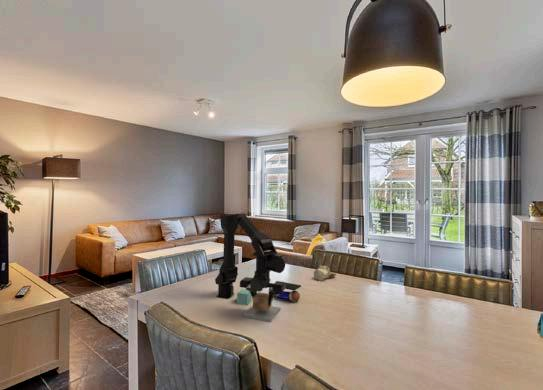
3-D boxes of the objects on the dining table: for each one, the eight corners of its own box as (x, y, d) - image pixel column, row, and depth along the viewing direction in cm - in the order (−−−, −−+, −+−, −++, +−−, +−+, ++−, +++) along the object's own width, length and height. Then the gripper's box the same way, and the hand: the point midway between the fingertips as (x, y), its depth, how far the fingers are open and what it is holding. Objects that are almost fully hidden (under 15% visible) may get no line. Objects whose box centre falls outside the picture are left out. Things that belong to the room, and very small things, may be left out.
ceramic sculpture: (309, 264, 165) (321, 261, 177) (308, 279, 165) (321, 275, 177) (325, 267, 159) (337, 264, 170) (325, 283, 158) (337, 278, 170)
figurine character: (268, 300, 137) (295, 304, 128) (267, 284, 137) (294, 287, 128) (276, 296, 142) (303, 300, 133) (275, 280, 143) (301, 283, 134)
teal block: (237, 303, 129) (237, 292, 129) (241, 299, 134) (241, 289, 134) (247, 305, 127) (247, 294, 127) (251, 301, 132) (251, 290, 132)
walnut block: (252, 309, 117) (252, 297, 117) (258, 303, 123) (258, 292, 123) (266, 311, 115) (266, 299, 115) (271, 305, 121) (271, 294, 120)
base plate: (243, 316, 115) (243, 314, 115) (254, 305, 127) (254, 303, 126) (271, 321, 111) (271, 319, 111) (280, 309, 122) (280, 307, 122)
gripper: (233, 270, 114) (233, 309, 114) (277, 275, 108) (277, 316, 108) (245, 263, 125) (245, 299, 125) (286, 268, 118) (285, 305, 119)
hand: (262, 305), depth 119 cm, fingers closed on walnut block, 6 cm apart
